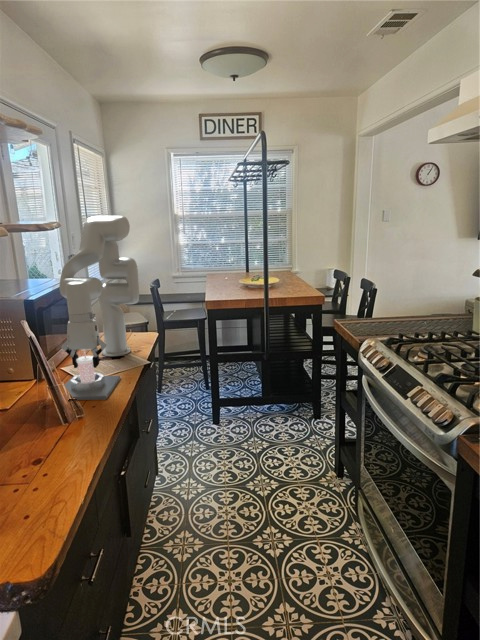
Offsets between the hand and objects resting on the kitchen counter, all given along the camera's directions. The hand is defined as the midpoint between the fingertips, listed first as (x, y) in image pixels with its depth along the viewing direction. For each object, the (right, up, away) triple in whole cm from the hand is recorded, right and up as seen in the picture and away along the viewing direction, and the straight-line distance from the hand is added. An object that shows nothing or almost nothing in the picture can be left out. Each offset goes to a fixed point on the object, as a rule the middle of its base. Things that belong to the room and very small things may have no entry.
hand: (86, 366), depth 144 cm
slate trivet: (0, -8, +2) cm, 9 cm away
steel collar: (0, -7, +2) cm, 7 cm away
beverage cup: (0, -6, +2) cm, 6 cm away
